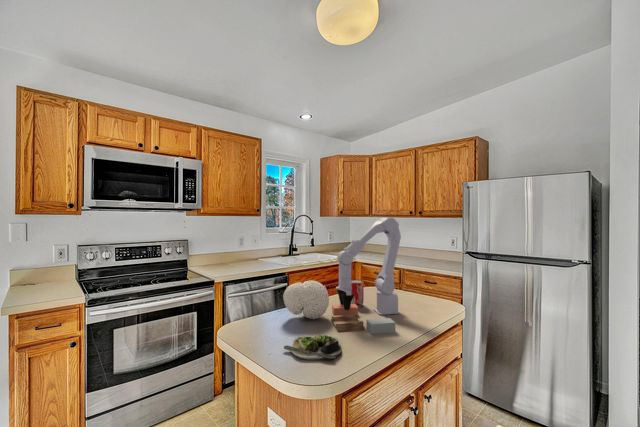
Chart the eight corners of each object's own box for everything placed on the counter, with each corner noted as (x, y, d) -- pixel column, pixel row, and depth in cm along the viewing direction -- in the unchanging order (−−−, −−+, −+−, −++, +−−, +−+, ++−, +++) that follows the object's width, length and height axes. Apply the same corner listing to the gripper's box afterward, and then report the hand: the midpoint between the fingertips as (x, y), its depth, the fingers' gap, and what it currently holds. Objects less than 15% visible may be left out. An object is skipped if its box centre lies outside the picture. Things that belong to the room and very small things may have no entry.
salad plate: (280, 364, 93) (280, 349, 93) (286, 339, 111) (286, 327, 111) (343, 364, 93) (343, 349, 93) (338, 339, 111) (339, 327, 111)
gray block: (390, 327, 122) (390, 318, 122) (395, 332, 117) (395, 322, 117) (366, 329, 120) (366, 319, 120) (370, 334, 116) (370, 324, 116)
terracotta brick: (355, 312, 141) (355, 304, 141) (358, 316, 136) (358, 307, 136) (332, 313, 140) (332, 304, 140) (333, 317, 135) (333, 308, 135)
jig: (355, 319, 132) (355, 313, 132) (364, 329, 120) (364, 323, 120) (331, 320, 130) (331, 314, 130) (337, 331, 118) (337, 325, 118)
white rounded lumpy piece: (323, 310, 143) (323, 276, 143) (334, 324, 126) (334, 284, 126) (281, 314, 138) (281, 278, 138) (287, 328, 121) (286, 287, 121)
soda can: (354, 308, 147) (354, 283, 147) (346, 304, 153) (346, 280, 153) (366, 306, 150) (366, 282, 150) (358, 302, 156) (358, 279, 156)
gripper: (333, 274, 144) (332, 302, 145) (340, 281, 130) (340, 312, 130) (347, 273, 146) (347, 302, 146) (356, 280, 131) (355, 311, 131)
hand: (344, 307), depth 138 cm, fingers open, 7 cm apart
